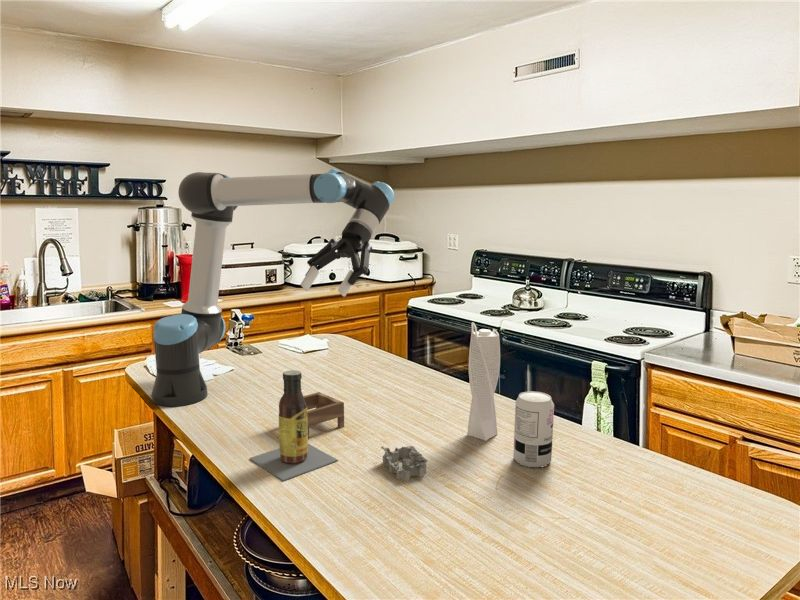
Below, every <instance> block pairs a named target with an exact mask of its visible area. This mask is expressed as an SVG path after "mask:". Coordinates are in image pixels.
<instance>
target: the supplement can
mask: <svg viewBox="0 0 800 600" xmlns="http://www.w3.org/2000/svg"><path fill="white" fill-rule="evenodd" d="M514 404H515V405H514V406H515V408H514V430H513V459H514V460H515V461H516V462H517V463H518V464H519V463H520V464H519V465H521V466H522V465H524V466H523V467H526V466H528V467H527V468H530V467H541V468H543V467H542V466H545V465H546V466H548V465H549V464H550V463H551V462H552V454H553V453H552V452H553V434H554V414H555V403H554V402H553V400H552V396H551V395H550V394H548V393H545V392H541V391H533V390H532V391H531V390H529V391H524V392H523V391H522V392H520V393H519V394H518V397H517V399H516V400H515V403H514ZM547 464H548V465H547ZM546 466H545V467H546Z"/></svg>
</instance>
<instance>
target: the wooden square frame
mask: <svg viewBox="0 0 800 600" xmlns="http://www.w3.org/2000/svg"><path fill="white" fill-rule="evenodd" d="M303 397H304V400H305V402H306V405H307V421H308V439H310V427H312V426H315V425H319V424H322V423H325V422H329V421H331V420H332V421H333V420H336V419H337V428H340V429H343V428H345V402H343V401H341V400H339V399H337V398H334V397H332V396H329V395H327V394H324V393H322V392H320V391H318V392H314V393H310V394H307V395H303Z"/></svg>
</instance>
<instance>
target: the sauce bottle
mask: <svg viewBox="0 0 800 600" xmlns="http://www.w3.org/2000/svg"><path fill="white" fill-rule="evenodd" d="M302 378H303V376H302V372H301V371H300V370H295V369H293V370H286V371H283V373H282V380H283V394H282V396H281V397H280V400H279V402H278V444H279V445H278V446H279V448H278V449H279V451H280V459H281V460H282V461H283V462H284V463H290V464H295V463H299V462H302V461H304V460H305V459H306V458H307V452H308V444H309V441H308V421H307V411H308V410H307V405H306V402H305V400H304V397H303V396H304V395H303V392H302Z"/></svg>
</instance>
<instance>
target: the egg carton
mask: <svg viewBox="0 0 800 600" xmlns="http://www.w3.org/2000/svg"><path fill="white" fill-rule="evenodd" d="M380 449H382V451H384V454H383V456H382V465H383V466H384V467H388V470H389V472H390V473H395V474H396V476H395V477H396V479H397V480H403V481H410V480H411V477H419V478H422V477H423V478H424V476H425V474H426V473H427V463H428V462H429V459H426V458H425V457H424V456H423V454H422V453H420V452H419V451H418V450H417V449H416V448H415V446H414V445H407V446H401V448H398V447H395V448H394V451H391V450H390V449H391V448H389V447H384V446H383V445H382V446H381V448H380ZM401 458H402V459H401ZM400 459H401V462H398V461H399V460H400ZM395 462H396V463H395Z"/></svg>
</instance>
